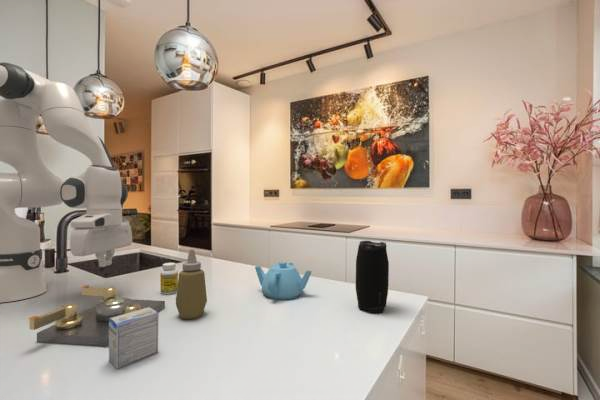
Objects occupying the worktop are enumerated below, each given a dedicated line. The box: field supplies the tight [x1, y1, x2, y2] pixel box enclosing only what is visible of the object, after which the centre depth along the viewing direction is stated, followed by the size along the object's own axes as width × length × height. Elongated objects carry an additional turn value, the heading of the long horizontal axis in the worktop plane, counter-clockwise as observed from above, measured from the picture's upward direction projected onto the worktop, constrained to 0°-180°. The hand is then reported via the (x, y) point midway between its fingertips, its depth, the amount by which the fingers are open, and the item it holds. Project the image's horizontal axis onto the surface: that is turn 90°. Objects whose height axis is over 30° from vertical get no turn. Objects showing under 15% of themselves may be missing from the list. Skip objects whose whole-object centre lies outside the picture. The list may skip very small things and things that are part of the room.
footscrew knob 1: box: [28, 302, 82, 331], centre depth 66 cm, size 10×5×5 cm, turn 168°
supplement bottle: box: [160, 262, 179, 296], centre depth 99 cm, size 5×5×10 cm
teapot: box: [254, 261, 313, 301], centre depth 99 cm, size 15×15×11 cm
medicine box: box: [108, 307, 160, 370], centre depth 59 cm, size 8×4×9 cm, turn 141°
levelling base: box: [36, 297, 166, 348], centre depth 75 cm, size 17×22×6 cm
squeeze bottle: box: [175, 248, 208, 320], centre depth 80 cm, size 8×8×18 cm
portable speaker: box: [355, 240, 390, 315], centre depth 86 cm, size 9×9×20 cm
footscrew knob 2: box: [81, 284, 120, 304], centre depth 82 cm, size 10×5×5 cm, turn 85°
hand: (105, 265), depth 87 cm, fingers closed
